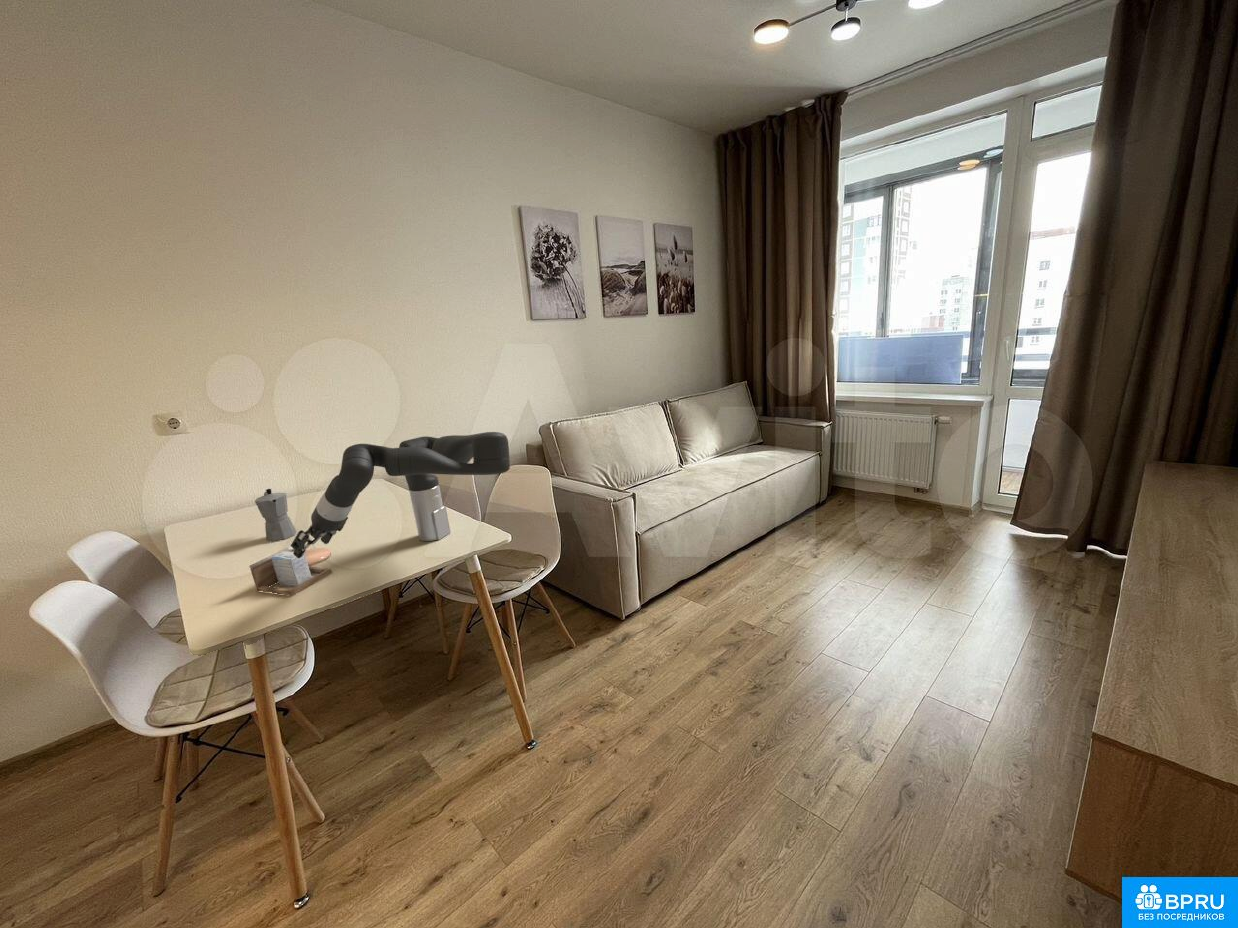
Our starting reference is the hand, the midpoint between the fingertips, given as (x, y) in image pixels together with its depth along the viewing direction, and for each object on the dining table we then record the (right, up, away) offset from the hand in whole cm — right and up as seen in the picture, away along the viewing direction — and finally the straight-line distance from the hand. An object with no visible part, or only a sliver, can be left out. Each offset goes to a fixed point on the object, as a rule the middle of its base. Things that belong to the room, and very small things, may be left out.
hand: (311, 548), depth 136 cm
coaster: (-14, -7, +23) cm, 28 cm away
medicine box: (-9, -11, +8) cm, 16 cm away
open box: (-9, -11, +8) cm, 16 cm away
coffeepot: (-38, -3, +46) cm, 60 cm away
